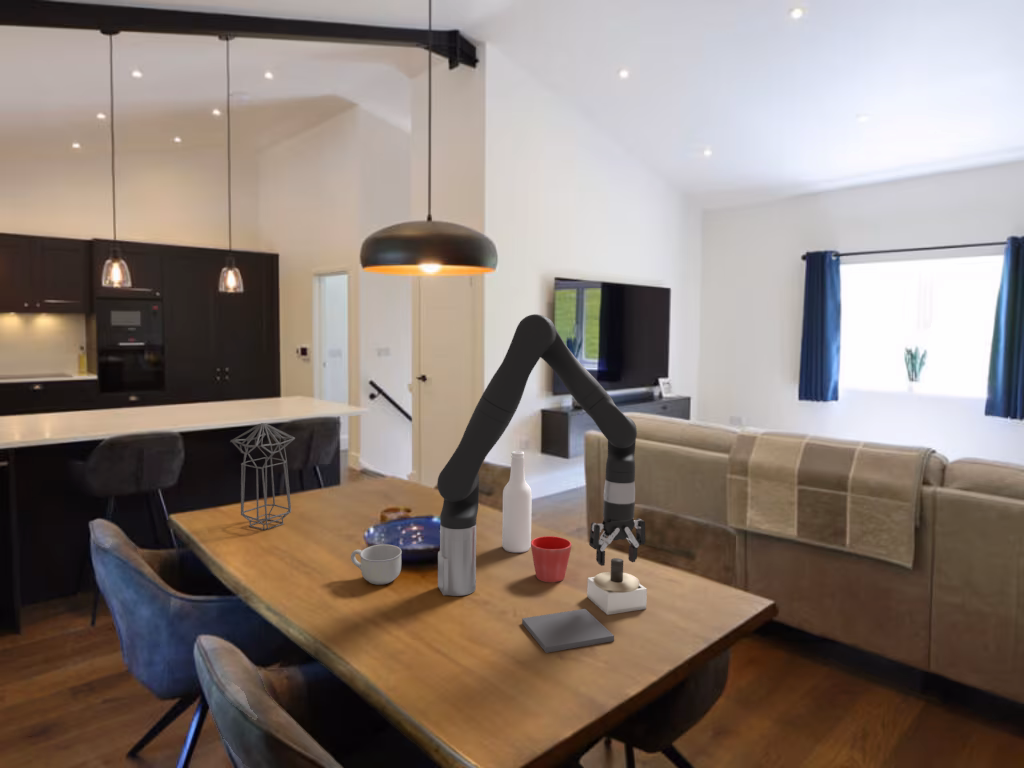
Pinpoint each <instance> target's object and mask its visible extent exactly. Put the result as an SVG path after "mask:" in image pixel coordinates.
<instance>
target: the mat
mask: <svg viewBox="0 0 1024 768" xmlns="http://www.w3.org/2000/svg"><path fill="white" fill-rule="evenodd" d="M521 619H522V620H521V624H522V625H523V626H524V628H525V629H526V630H527V631H528V632H529V634H530V635H531V636H532V637H533V639H534V640H535V642H537V644H538V645H539V646H540V647H541V648H542V649H543V651H544V652H545V654H547V653H554V652H559V651H560V652H561V651H563V650H564V651H565V650H570V649H576V648H583V647H588V646H593V645H599V644H606V643H610V642H615V635H614V634H613V633H612V632H611V631H610V630H608V628H607V627H606V626H605V625H603V623H602V622H600V621H599V620H598V619H597V618H596V617H595V616H594V615H593V614H592V613H591V612H589V611H588V610H587V609H586V608H582V609H575V610H568V611H561V612H555V613H548V614H547V613H546V614H541V615H535V616H534V615H533V616H529V617H528V616H527V617H522V618H521Z"/></svg>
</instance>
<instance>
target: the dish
mask: <svg viewBox="0 0 1024 768" xmlns="http://www.w3.org/2000/svg"><path fill="white" fill-rule="evenodd" d="M594 577H595V576H591V577H587V590H586V591H587V593H586V595H587V596H586V597H587V598H588V599H589V600H590V601H591V602H592V603H593V604H595V606H596V607H598V608H599V609H600V610H601V611H602V612H604V613H605V614H606V615H607V616H608V615H610V616H611V615H615V614H616V615H617V614H622V613H629V612H633V611H634V612H635V611H641V610H646V609H647V600H648V599H647V596H648V593H647V592H648V590H647V589H648V588H646V587H645V586H644V585H642V584H641V583H640V582H639V588H638V589H636V590H634V591H631V592H623V593H619V592H610V591H606V590H603V589H601V588H599V587H597V586H596V585H595V583H594Z"/></svg>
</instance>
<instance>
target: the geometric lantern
mask: <svg viewBox="0 0 1024 768" xmlns="http://www.w3.org/2000/svg"><path fill="white" fill-rule="evenodd" d="M248 433H250V434H249V435H248V436H247V437H246V438H242V437H244V436H245V435H247V434H248ZM256 434H257V435H256ZM282 435H283V436H282ZM255 436H256V437H255ZM265 436H266V437H267V440H268V443H266V444H263V440H264V438H265ZM260 437H261V438H260ZM270 437H271V439H273V441H274V442H275V443H272V442H271V439H270ZM240 438H241V439H240ZM278 439H279V440H278ZM295 439H296V437H294V436H293V435H290V434H288V433H286V432H285V431H282V430H280V429H278V428H276V427H274V426H272V425H270V424H268V423H267V422H265V423H264V422H260V423H259V424H256V425H254V426H253V427H252V428H250V429H248V430H246V431H245V432H243V433H242V434H240V435H238V436H236V437H235V438H233V439H230V441H229V443H232V444H233V445H234V446H235V447H236V448H237V450H238V451H239V452H240V454H243V462H241V463H240V465H241V466H240V468H241V470H240V471H241V472H240V474H241V475H240V476H241V477H240V485H241V486H240V516H242V517H243V518H244V519H246V520H247V521H248V522H249V527H250V528H255V529H259V530H262V531H265V530H270V529H273V528H276V527H279V526H283V525H285V523H284V518H286V517H287V516H288V515H290V514H291V512H292V507H291V506H292V504H291V503H292V502H291V494H290V481H289V470H288V460H287V453H286V447H288V445H289V444H291V443H292V442H293V441H295ZM253 440H254V444H250V442H252V441H253ZM281 440H283V441H282V442H281ZM245 442H246V443H245ZM260 443H261V445H259V444H260ZM238 444H239V445H238ZM269 446H270V449H268V448H267V447H269ZM273 446H275V448H274V450H273ZM243 447H244V450H243V449H242V448H243ZM256 447H257V448H258V449H259V450H260V451H261V453H262V454H263V455H264V456H265V457H260V458H256V459H253V458H252V456H251V454H250V453H251V452H252V451H253V450H255V449H256ZM249 449H250V450H249ZM262 449H264V450H265V451H266V452H268V453H270V455H269V456H267V454H266V453H265V452H264V451H263V450H262ZM277 449H278V450H277ZM282 450H284V451H283V452H284V455H285V456H283V454H282ZM276 453H279V455H280V458H277V457H273V456H274V455H275V454H276ZM247 455H248V457H249V459H250V460H247V461H246V458H247ZM284 457H285V459H284ZM263 459H265V461H264V464H263V465H262V466H257V464H256V463H255V461H260V460H263ZM269 460H270V464H269V465H268V461H269ZM273 460H276V461H277V460H278V461H281V462H278V463H275V464H273ZM249 462H252V463H253V465H251V464H250V465H249V464H247V463H249ZM278 465H283V472H284V473H283V474H284V482H285V489H286V491H285V492H286V498H287V507H286V506H282V505H278V504H276V501H275V500H276V498H275V484H274V470H273V468H274V466H278ZM246 467H248V468H249V467H250V468H254V469H255V471H256V473H255V475H256V479H255V481H256V485H255V486H256V507H253V508H250V509H246V510H244V509H245V487H246V486H245V483H246ZM268 468H270V471H271V472H270V473H271V475H270V476H271V487H272V488H271V489H272V502H273V503H271V504H268V503H267V502H268V476H267V475H268ZM259 469H260V470H261V476H262V477H261V478H262V480H261V481H262V489H263V490H262V491H263V492H262V493H263V501H264V504H262V505H259ZM264 471H265V472H264ZM267 507H271V508H270V511H269V513H268V510H267V509H268V508H267ZM274 507H276V508H277V507H278V508H281V509H284V510H287V511H286V512H284V513H279V514H272V511H273V509H274ZM261 508H264V512H265V513H264V514H261V515H259V511H260V510H259V509H261ZM255 510H256V516H255V517H253V516H249V515H247V514H245V513H248V512H252V511H255ZM264 516H265V517H264ZM261 517H264V518H261ZM278 517H279V518H278ZM260 518H261V519H260ZM274 518H278V519H274ZM280 520H281V521H280ZM268 521H269V522H268ZM264 522H265V523H264ZM275 522H276V523H279V524H276V525H273V526H270V527H269V524H272V523H275ZM257 524H259V525H262V527H258V526H254V525H257ZM265 526H266V528H265Z"/></svg>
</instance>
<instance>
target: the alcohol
mask: <svg viewBox="0 0 1024 768" xmlns="http://www.w3.org/2000/svg"><path fill="white" fill-rule="evenodd" d="M510 457H511V461H510V462H511V463H510V474H509V480H508V482H507V484H505V486H504V487H503V490H502V526H501V527H502V532H501V533H502V537H501V539H502V541H501V546H502V548H503V550H504V551H505V552H508V553H513V554H519V553H520V554H522V553H526V552H528V551H530V548H531V541H532V499H533V497H532V496H533V494H532V488H531V486H530V485H529V484H528V483H527V481H526V472H525V471H526V469H525V452H524V451H522V450H514V451H511V455H510Z"/></svg>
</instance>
